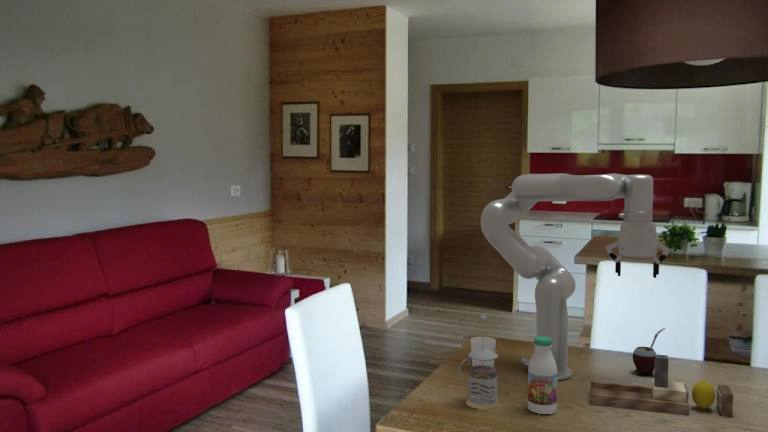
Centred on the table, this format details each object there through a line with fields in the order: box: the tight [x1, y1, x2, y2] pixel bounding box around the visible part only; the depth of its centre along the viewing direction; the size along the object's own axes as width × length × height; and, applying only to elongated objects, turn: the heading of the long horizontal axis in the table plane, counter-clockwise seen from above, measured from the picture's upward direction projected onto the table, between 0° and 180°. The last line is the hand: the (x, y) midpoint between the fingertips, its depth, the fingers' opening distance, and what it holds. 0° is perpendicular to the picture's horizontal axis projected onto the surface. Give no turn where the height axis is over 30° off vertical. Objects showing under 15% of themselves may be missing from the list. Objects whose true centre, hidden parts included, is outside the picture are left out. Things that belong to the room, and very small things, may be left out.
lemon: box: [691, 379, 716, 410], centre depth 174 cm, size 6×6×8 cm
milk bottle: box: [527, 336, 558, 415], centre depth 174 cm, size 8×8×20 cm
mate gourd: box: [632, 327, 666, 378], centre depth 202 cm, size 8×8×15 cm
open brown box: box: [715, 384, 734, 418], centre depth 172 cm, size 3×7×6 cm, turn 161°
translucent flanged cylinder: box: [470, 336, 497, 368], centre depth 207 cm, size 8×8×10 cm
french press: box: [458, 314, 499, 405], centre depth 179 cm, size 10×12×25 cm
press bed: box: [589, 380, 690, 416], centre depth 179 cm, size 25×11×3 cm, turn 71°
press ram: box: [651, 353, 690, 403], centre depth 176 cm, size 9×7×12 cm
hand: (636, 276), depth 187 cm, fingers open, 9 cm apart
